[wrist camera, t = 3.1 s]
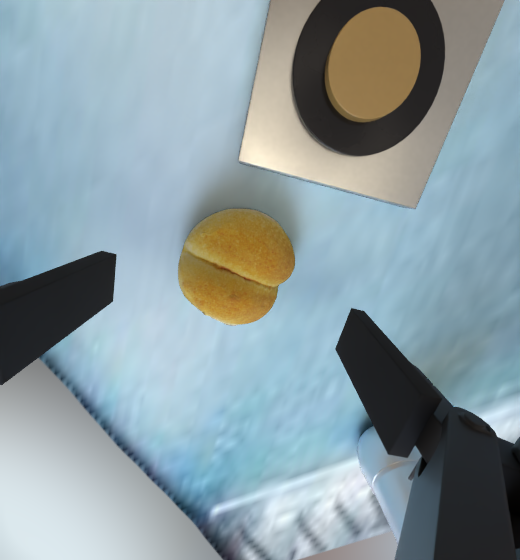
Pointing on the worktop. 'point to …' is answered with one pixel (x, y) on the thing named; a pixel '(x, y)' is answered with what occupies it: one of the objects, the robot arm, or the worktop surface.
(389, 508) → the plastic bottle
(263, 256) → the bread roll
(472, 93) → the worktop surface
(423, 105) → the push button
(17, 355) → the robot arm
